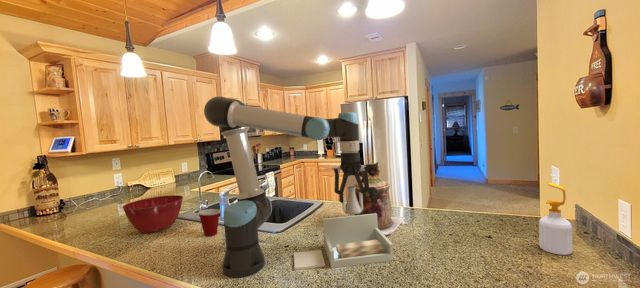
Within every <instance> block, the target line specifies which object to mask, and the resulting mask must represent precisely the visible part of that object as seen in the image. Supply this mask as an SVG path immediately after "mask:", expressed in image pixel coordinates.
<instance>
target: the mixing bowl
mask: <svg viewBox="0 0 640 288" xmlns="http://www.w3.org/2000/svg"><path fill="white" fill-rule="evenodd" d="M183 198H184V196H182V195H180V194H179V195H177V194H175V195H174V194H172V195H170V194H169V195H160V196H154V197H148V198H143V199H138V200H135V201H132V202H129V203H126V204H124V205H123V206H122V207H121V209H123V211H124V214H125V216H126V218H127V220H128V221H129V223H130V224H131V226H133V228H134V229H135V230H137V231H138V232H142V233H144V234H151V233H157V232H161V231H164V230H167V229H169V228H170V227H171V226H172V225H173V224H174V223H176V220H177V219H178V217H179V214H180V211H181V208H182V203H183Z"/></svg>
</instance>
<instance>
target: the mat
mask: <svg viewBox="0 0 640 288" xmlns="http://www.w3.org/2000/svg"><path fill="white" fill-rule="evenodd" d="M293 262H294V263H293V264H294V271H298V270H299V271H301V270H307V269H317V268H325V267H326V263H325V259H324V256H323V252H322V249H316V250H315V249H314V250H307V251H299V252H297V251H296V252H294V253H293Z"/></svg>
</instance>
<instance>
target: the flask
mask: <svg viewBox="0 0 640 288" xmlns="http://www.w3.org/2000/svg"><path fill="white" fill-rule="evenodd" d="M355 189H356V187H354V185H353V186H351V185H350V186H348V187H347V190H348V195H347V200H346V212H344V213H345V214H347V215H355V214H360V213H361V212H362V210H361V207H360V205H359V202H358V200H357V197H356V193H355Z"/></svg>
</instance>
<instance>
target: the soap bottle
mask: <svg viewBox="0 0 640 288" xmlns="http://www.w3.org/2000/svg"><path fill="white" fill-rule="evenodd" d="M547 185H548V186H549V187H551V188H555V189H559V190H560V191H562V195H563V196H562V197H563V198H562V199H563V200H562V201H558V200H551V199H550V200H549V199H548V200H546V202H545V203H546V204H547V205H549V206H551V208H549V209H548V215H545V216H543V217H541V218H539V221H538V230H539V231H538V236H539V240H538V241H539V248H540V249H541V250H543V251H545V252H547V253H550V254H554V255H560V256H561V255H562V256H567V255H571V254H572V253H573V226H572V223H571V222H570V221H569V220H567V219H566V218H564V217H563V216H562V210H561V209H559V208H560V206H563V205H565V203H566V200H567V199H566V196H567V195H566V188H565V187H564V186H562V185H560V184H556V183H553V182H548V184H547Z"/></svg>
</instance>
